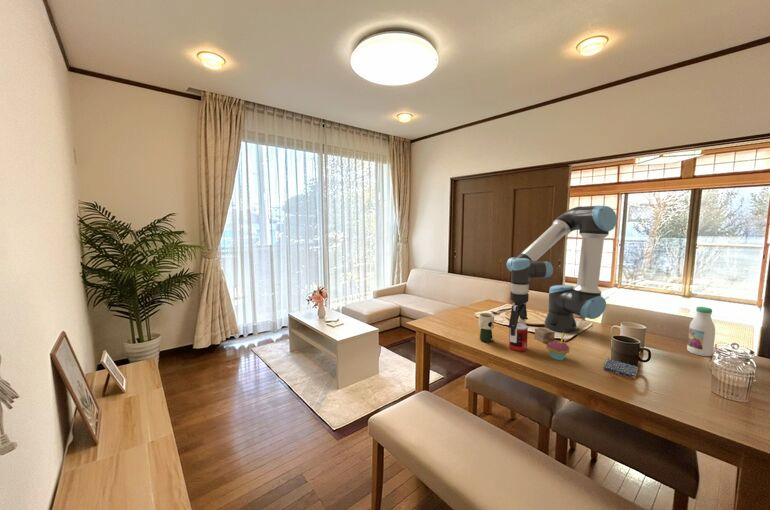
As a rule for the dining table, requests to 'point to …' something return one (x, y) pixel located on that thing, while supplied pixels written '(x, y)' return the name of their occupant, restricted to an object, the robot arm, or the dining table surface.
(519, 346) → the canned food
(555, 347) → the cupcake
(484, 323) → the character mug
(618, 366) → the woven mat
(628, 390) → the dining table surface
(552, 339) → the walnut block
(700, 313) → the milk bottle
